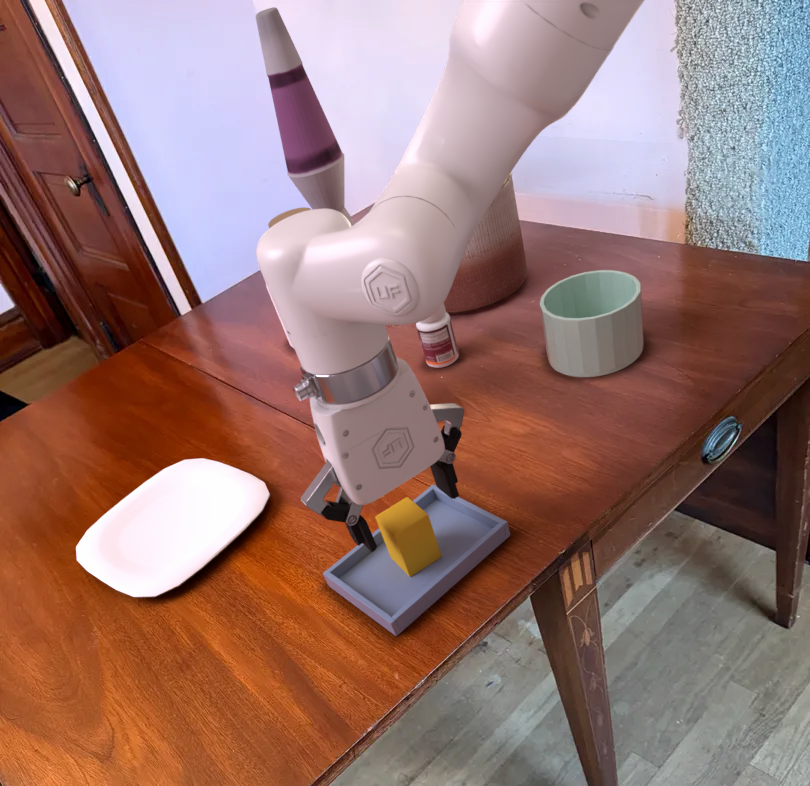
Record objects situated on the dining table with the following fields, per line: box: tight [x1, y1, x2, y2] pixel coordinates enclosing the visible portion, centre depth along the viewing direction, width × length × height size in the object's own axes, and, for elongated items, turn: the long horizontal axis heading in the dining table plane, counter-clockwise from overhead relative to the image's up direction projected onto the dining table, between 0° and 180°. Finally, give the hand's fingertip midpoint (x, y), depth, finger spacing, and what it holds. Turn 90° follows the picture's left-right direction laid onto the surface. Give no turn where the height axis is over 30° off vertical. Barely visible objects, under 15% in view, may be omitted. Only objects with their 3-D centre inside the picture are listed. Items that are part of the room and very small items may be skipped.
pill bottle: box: [415, 303, 460, 369], centre depth 102 cm, size 5×5×8 cm
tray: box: [322, 483, 511, 637], centre depth 77 cm, size 16×11×2 cm
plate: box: [75, 457, 271, 599], centre depth 92 cm, size 22×22×2 cm
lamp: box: [255, 6, 357, 226], centre depth 126 cm, size 11×11×40 cm
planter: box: [444, 172, 528, 315], centre depth 113 cm, size 18×18×16 cm
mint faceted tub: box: [539, 269, 644, 378], centre depth 94 cm, size 12×12×8 cm
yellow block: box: [374, 496, 442, 577], centre depth 75 cm, size 4×4×6 cm
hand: (408, 517), depth 73 cm, fingers open, 9 cm apart
